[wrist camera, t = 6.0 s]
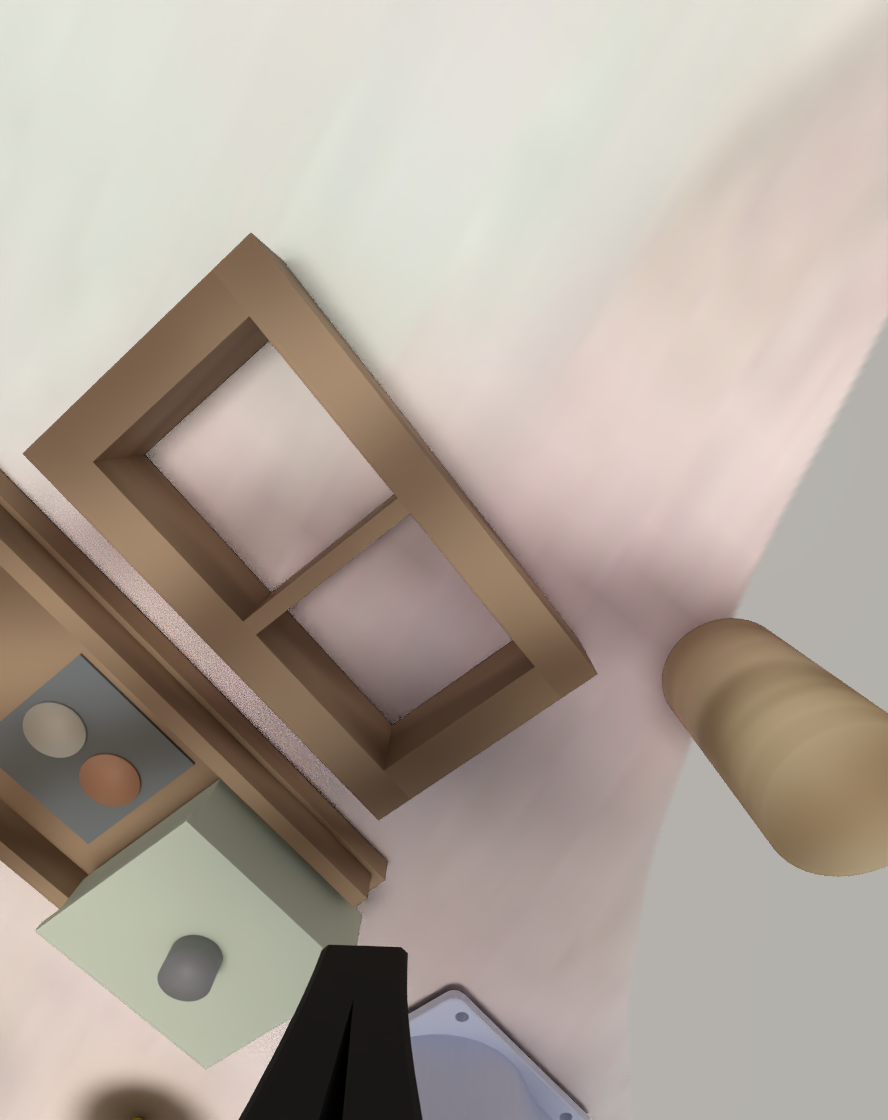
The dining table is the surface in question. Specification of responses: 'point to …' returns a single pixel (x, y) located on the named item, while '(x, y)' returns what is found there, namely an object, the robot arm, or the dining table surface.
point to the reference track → (123, 728)
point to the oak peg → (786, 744)
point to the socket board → (261, 616)
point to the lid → (205, 926)
